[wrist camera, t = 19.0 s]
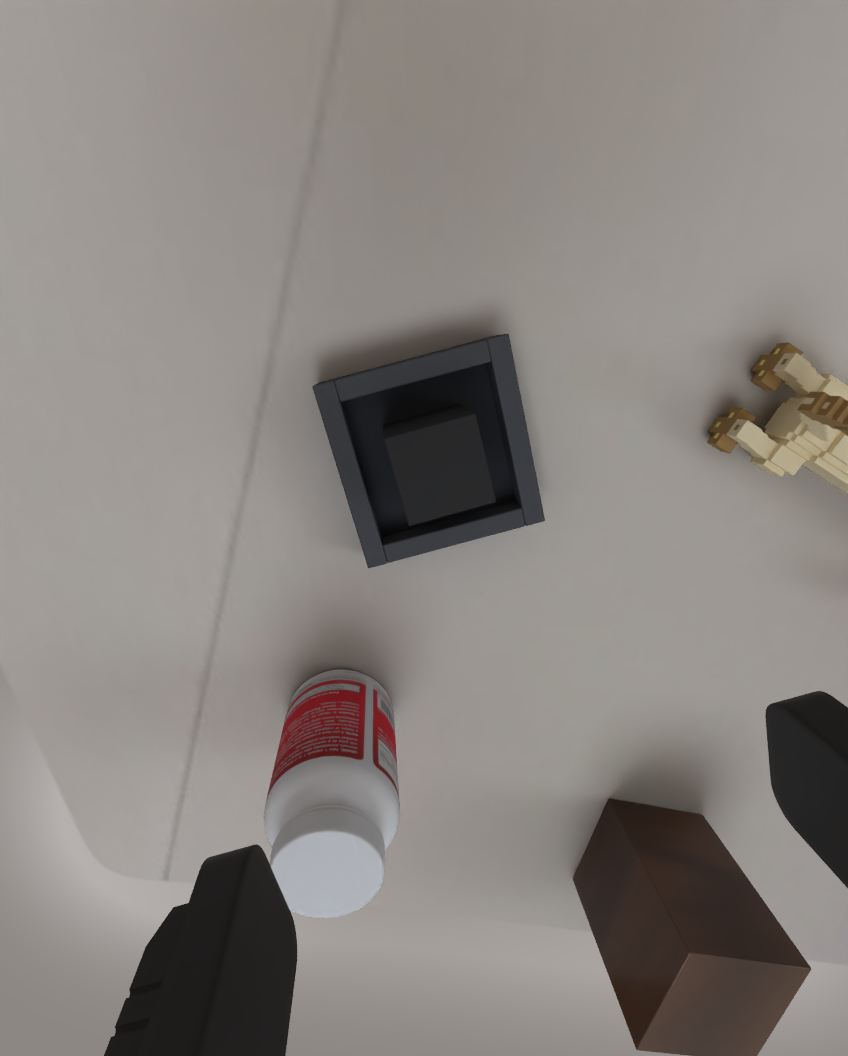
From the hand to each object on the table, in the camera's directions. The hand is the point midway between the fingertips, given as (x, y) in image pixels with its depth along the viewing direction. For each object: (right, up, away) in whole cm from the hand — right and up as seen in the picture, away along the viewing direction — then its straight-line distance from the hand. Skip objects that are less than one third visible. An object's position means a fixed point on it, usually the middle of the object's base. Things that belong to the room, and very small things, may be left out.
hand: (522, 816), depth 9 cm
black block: (-1, +8, +20) cm, 21 cm away
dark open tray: (-1, +9, +20) cm, 22 cm away
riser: (+13, -17, +30) cm, 37 cm away
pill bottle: (-6, -6, +25) cm, 26 cm away
